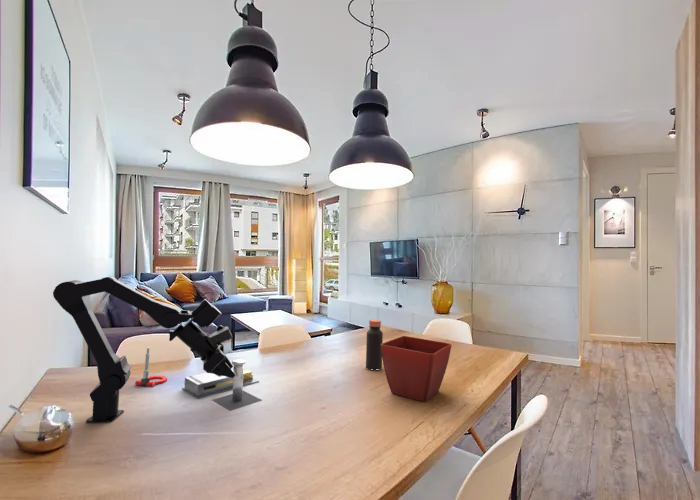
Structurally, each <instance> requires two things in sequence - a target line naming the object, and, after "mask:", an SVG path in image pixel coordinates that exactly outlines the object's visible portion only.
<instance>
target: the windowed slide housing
mask: <svg viewBox="0 0 700 500" xmlns="http://www.w3.org/2000/svg"><path fill="white" fill-rule="evenodd" d="M231 370H232V371H233V369H232V368H231ZM259 382H260V381H259V379H255V378H254V374H253V372H252V371H251V370H249V369H245V370H244V369H243V387H247V386H250V385H254V384H257V383H259ZM181 389H182V390H183V391H184V392H186V393H188V394H189V395H191V396H192V397H195V398H196V399H198V400H200V399H204V398H206V397H207V398H208V397H211V396H215V395H218V394H223V393H226V392H229V391H233V378H230V377H226V376H222V375H218V374H213V373H207V372H203V373H198V374H194V375H190V376H189V375H188V376H185V377H184V386H182V387H181Z"/></svg>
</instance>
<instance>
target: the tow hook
mask: <svg viewBox="0 0 700 500" xmlns="http://www.w3.org/2000/svg"><path fill="white" fill-rule="evenodd" d="M150 355H151V354H150V347H146V353H145V358H144V359H145V360H144V370H143V373H142V375H143V377H142V378H141V379H140V380H135V382H134V384H135V386H140V387H141V386H142V387H151V388H152V387H153V388H154V387H155V386H156V385H160V384H163V383H165V382H167V381H168V377H167V376H164V375H151V376H150V374H149V372H150V370H149V366H150ZM150 380H152V381H150ZM153 380H154V381H153Z"/></svg>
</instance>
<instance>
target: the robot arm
mask: <svg viewBox="0 0 700 500" xmlns="http://www.w3.org/2000/svg"><path fill="white" fill-rule="evenodd" d="M101 293H107V294H109V295H111V296H113V297H115V298H117V299H119V300H120V301H122V302H125V303H126V304H128V305H130V306H132V307H134V308H137V309H138V310H140V311H142V312H144V313H146V314H147V315H148V316H149V317H150V318H151V319H152V320H153V321H154V322H156V323H157V324H158V325H160V326H161V327H162V328H165V329H170V330H168V335H169V340H168V341H169V342H172V341H173V340H175V339H176V338H178V339H179V340H180V341H181V342H182V343H183V344H185V345H186V346H187V347H189V349H190V352H192V353H194V354H196V355H198V357H200V360H201V361H202V362H203V363H202V364H203V367H202V369H203V371H205V373H213V374H218V375H222V376H226V377H230V378H234V377H235V374H234V372H233V371H232V370H233V369H232V368H234V365H233V364H232V362H231V361H230V360H229V357H227V355H226V354H225V352H224V348H225V347H224V344H223V343H224V342H226V341H230V340H232V338H233V335H232V332H231V330H230V329H229V328H230V327H229V326H223V325H222V324H220V325H218V326H216V328H215V329H216V331H213V333H211V334H209V332H204V331H203V330H202V328H208V327H210V325H212V324H213V323H214V322H215V321H216V320H217V319H218V318H219V317H220V316H221V315H222V312H221V311H220V310H219V309H218V308H217V307H216V306H215V305H214V304H212V303H211V302H210V301H208V300H207V299H206V298H205V299H203V300H202V301H201V302H200V304H199V305H197V306H196V307H195V308H194V309H193V310H188V309H187V310H185V309H181V308H180V307H178V306H176V305H173V304H169V303H166V302H162V301H160V300H159V301H158V300H156V299H154V298H152V297H150V296H148V295H146V294H144V293H142V292H140V291H139V290H137V289H135V288H133V287H131V286H129V285H128V284H126V283H123V282H122V281H119V280H118V279H117V278H116V277H113V276H107V277H102V278H99V279H95V280H90V281H85V282H84V281H81V280H78V279H77V280H76V279H74V280H70V281H68V280H67V281H63V282H61V283H59V284H58V285H56V286H55V287H54V289H53V292H52V296H53V298H54V300H55V301H56V302H57V303H58V305H59V307H61V308H62V309H63V310H64V311H65V312H66V313H68V314H69V315H70V316H71V317H72V318H73V320H74V322H75V325H76V326H77V328H78V330H79V332H80V334H81V335H82V337H83V340H84V341H85V343H86V344H87V345H86V346H87V347H88V349H89V350H90V353H91V354H92V356H93V359H94V360H95V362H96V367H97V368H96V369H97V376H98V380H99V382H98V384H97V385H96V386H95V387H94V388H93V390H91V392H90V393H89V396H90V399H91V402H92V415H91V416H90V417H89V418H87V419H86V420H85V423H112V422H113V421H114V420H115V419H117V418H118V417H119V416H121V415H122V414H123V413H124V411H125V410H124V409H119V402H120V401H119V400H120V390H121V389H123V388H124V386H125V385H126V383H127V382H128V380H129V378H130V376H131V369H132V366H131V365H130V364H129V363H128V361H127V360H128V359H127V357H126V355H122V357H120V356H119V355H117V354H116V353H115V351H114V350H113V348H112V346H111V344H110V342H109V340H108V339H107V337H106V334H105V333H104V331H103V328H102V327H101V325H100V323H99V321H98V319H97V316H96V315H95V313H94V312H93V309H92V301H91V300H92V299H91V295H96V294H101ZM195 323H196V324H195ZM175 327H176V328H175ZM172 328H175V329H172ZM231 369H232V370H231Z"/></svg>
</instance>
